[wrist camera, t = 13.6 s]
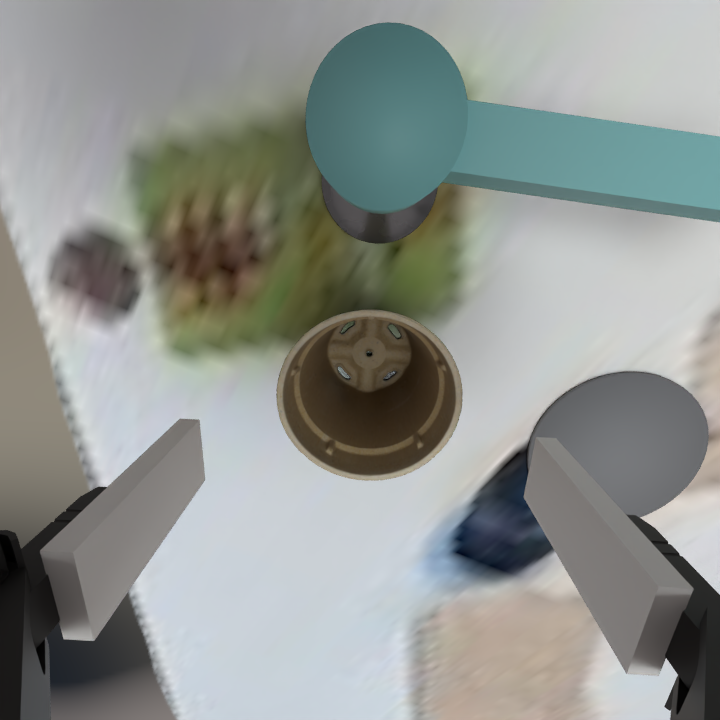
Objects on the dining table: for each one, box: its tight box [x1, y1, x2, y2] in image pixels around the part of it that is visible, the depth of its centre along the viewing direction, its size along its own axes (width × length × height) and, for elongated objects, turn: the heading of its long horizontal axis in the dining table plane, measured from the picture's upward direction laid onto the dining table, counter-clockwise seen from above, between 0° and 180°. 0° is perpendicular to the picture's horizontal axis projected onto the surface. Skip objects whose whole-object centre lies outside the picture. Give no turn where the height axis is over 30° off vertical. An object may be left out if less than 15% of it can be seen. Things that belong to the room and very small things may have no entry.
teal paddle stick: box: [306, 23, 720, 222], centre depth 12 cm, size 22×4×3 cm, turn 82°
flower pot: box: [276, 310, 462, 480], centre depth 23 cm, size 9×9×9 cm
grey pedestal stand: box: [322, 175, 438, 243], centre depth 19 cm, size 7×7×11 cm
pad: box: [527, 372, 708, 518], centre depth 29 cm, size 13×13×1 cm
